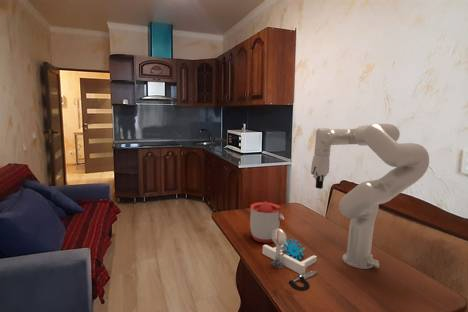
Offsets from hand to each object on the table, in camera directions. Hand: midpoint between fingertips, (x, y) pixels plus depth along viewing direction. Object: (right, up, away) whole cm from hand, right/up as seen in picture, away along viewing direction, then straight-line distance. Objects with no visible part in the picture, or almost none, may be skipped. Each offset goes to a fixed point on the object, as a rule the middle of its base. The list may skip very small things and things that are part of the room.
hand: (319, 188), depth 146 cm
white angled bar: (-19, -30, -19) cm, 40 cm away
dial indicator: (-24, -30, -24) cm, 45 cm away
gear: (-16, -30, -17) cm, 38 cm away
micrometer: (-15, -33, -36) cm, 51 cm away
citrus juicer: (-27, -27, +1) cm, 38 cm away
